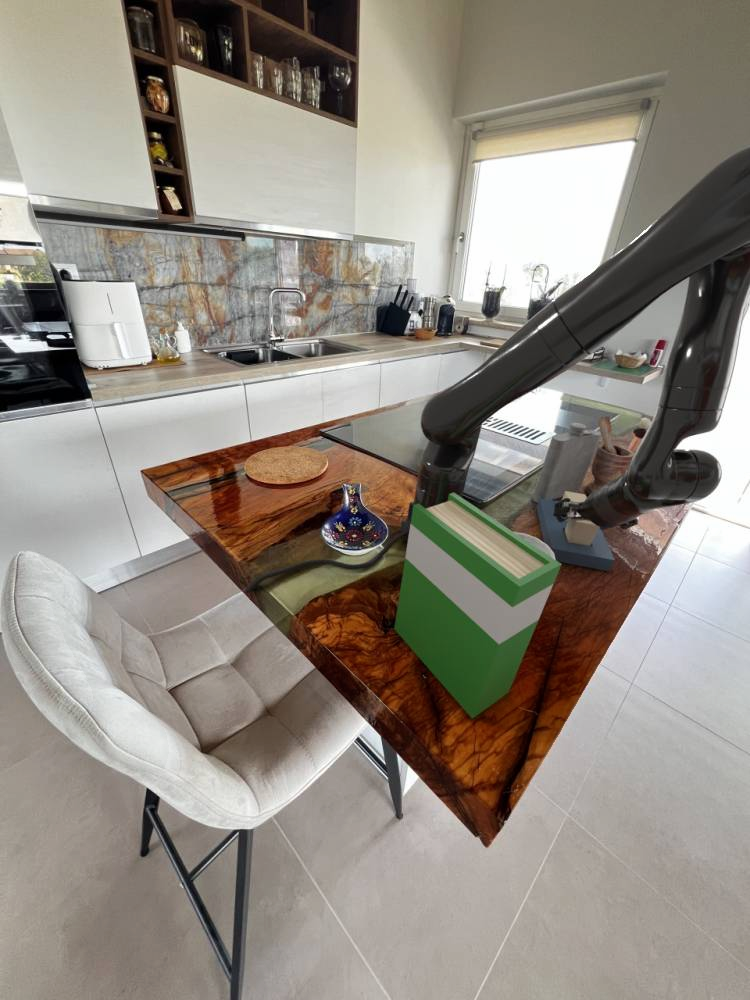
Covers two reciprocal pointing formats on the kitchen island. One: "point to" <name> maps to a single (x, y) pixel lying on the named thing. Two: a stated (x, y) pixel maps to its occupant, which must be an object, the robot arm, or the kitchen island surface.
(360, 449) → the kitchen island surface
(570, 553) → the holder
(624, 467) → the mortar and pestle
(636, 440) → the grandmother figurine
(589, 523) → the beige block
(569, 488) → the hip flask
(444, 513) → the hardback book
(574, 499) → the beige wooden block
